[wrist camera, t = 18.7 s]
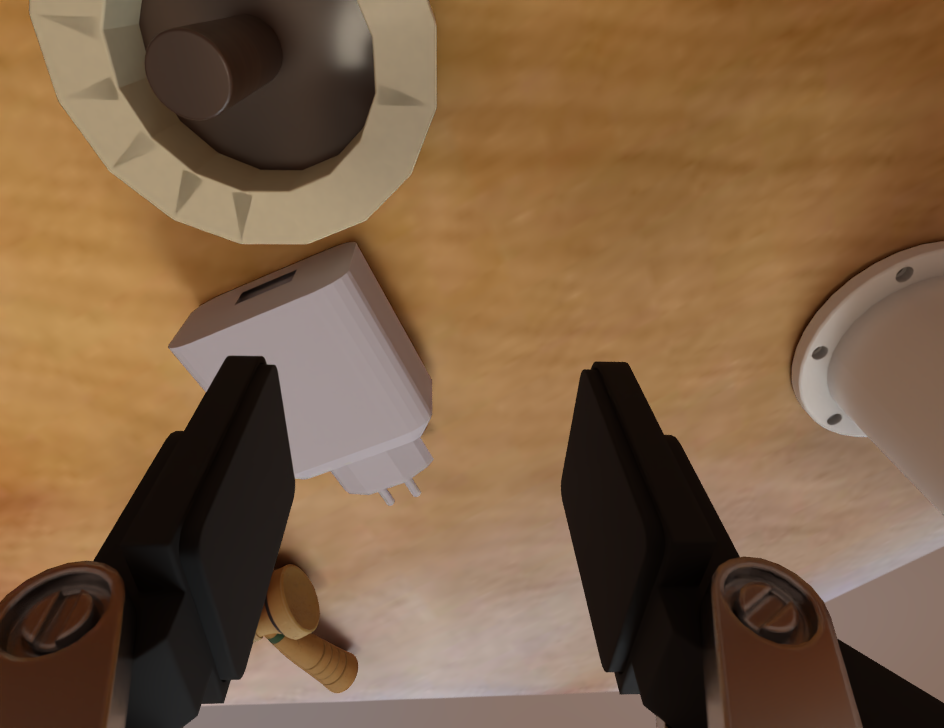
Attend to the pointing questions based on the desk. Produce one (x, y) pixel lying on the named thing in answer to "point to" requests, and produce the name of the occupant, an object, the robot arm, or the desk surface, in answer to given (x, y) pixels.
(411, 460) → the charger
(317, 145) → the stand
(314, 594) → the kendama
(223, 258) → the desk surface
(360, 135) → the tape
